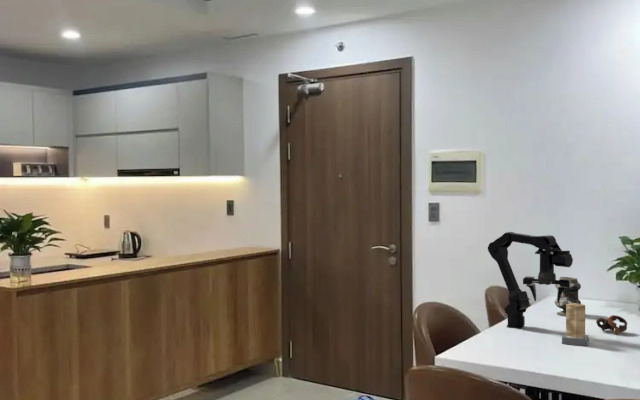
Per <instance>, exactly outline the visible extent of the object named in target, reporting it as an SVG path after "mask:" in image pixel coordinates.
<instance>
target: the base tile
mask: <svg viewBox="0 0 640 400" xmlns="http://www.w3.org/2000/svg"><path fill="white" fill-rule="evenodd" d="M589 336H590V335H589V334H585V337H580V338H574V337H570V336H566V332H565V333H564V334H563V335H562V337H561V344H562V345H570V346H579V347H580V346H582V347H587V346H588V344H589V342H590V337H589Z"/></svg>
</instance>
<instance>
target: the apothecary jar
mask: <svg viewBox="0 0 640 400" xmlns="http://www.w3.org/2000/svg"><path fill="white" fill-rule="evenodd" d="M561 278H563V279H570V280H571V286H570V287H567V288H566V289H564V290H563V292H562V295H561V298H560V300H559V303H557V299H558V291H559V286H560V285H559V284H554V286H555V288H556V290H557V293H556V298H555V300H554V301H553V303H554V305H555V306H556V308H557V307H558V308H559V309H562V310H560V311H558V312H556V315H558V316H562V317H566V304H572V303H577V304H582V302H581V300H580V299H579V290H581V287H582V285H581V284H580V283H579V281H578V278H577V277H573V276H559V277H558V280H560V279H561Z"/></svg>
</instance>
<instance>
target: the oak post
mask: <svg viewBox="0 0 640 400" xmlns="http://www.w3.org/2000/svg"><path fill="white" fill-rule="evenodd" d="M565 333H566V336H570V337H574V338H580V337H585V335H586V304H582V303H581V304H577V303H572V304H566V316H565Z"/></svg>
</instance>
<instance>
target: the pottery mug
mask: <svg viewBox="0 0 640 400" xmlns="http://www.w3.org/2000/svg"><path fill="white" fill-rule="evenodd" d="M617 320H618V321H619V323H623V324H620V325H618V324H617V323H616V322H615V321H617ZM596 325H597V326H598V328H600V329H601V330H602V331H603V332H605V330H610V331H613V335H616V336H618V335H619V334H621V333H624V332H626V331H627V329H628V322H627V320H626V319H625V318H623V317H621V316H619V315H610V316H609V317H607V318H606V319H605V318H603V317H599V318H597V320H596ZM617 325H618V326H617Z"/></svg>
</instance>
